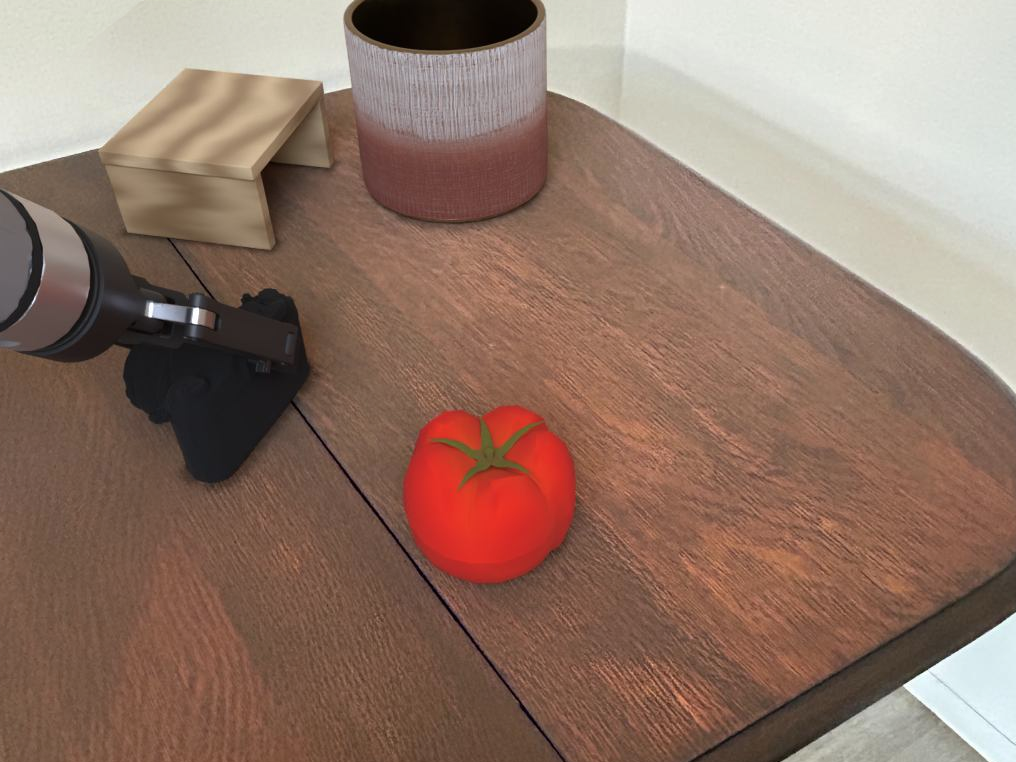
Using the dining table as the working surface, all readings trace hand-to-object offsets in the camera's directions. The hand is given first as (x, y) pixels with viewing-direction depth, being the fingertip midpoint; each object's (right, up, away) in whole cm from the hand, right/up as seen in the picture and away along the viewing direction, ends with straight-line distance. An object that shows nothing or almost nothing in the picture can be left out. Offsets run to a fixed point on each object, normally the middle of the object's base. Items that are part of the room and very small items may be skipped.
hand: (225, 347), depth 75 cm
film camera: (-1, -5, +1) cm, 5 cm away
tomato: (+20, -14, -7) cm, 26 cm away
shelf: (-6, +19, +22) cm, 30 cm away
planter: (+15, +20, +24) cm, 35 cm away
